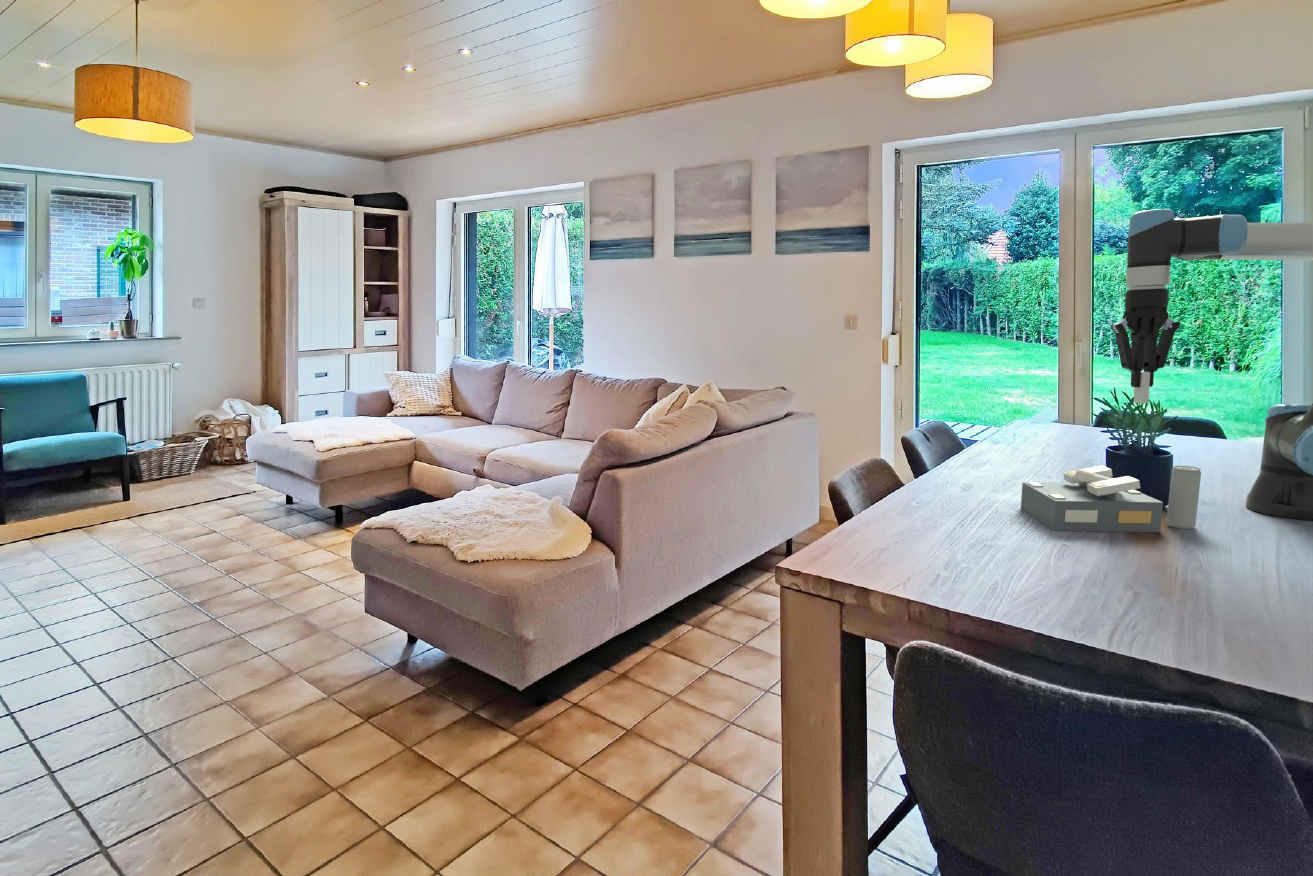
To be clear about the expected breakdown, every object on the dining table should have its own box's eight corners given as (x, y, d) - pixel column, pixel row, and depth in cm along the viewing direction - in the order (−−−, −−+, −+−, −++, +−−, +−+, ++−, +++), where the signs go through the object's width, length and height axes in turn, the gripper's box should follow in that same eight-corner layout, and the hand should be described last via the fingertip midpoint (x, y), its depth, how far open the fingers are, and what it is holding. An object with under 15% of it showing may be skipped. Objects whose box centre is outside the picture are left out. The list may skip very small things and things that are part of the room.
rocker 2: (1113, 485, 157) (1115, 477, 157) (1123, 490, 153) (1126, 482, 153) (1074, 477, 158) (1077, 469, 157) (1083, 481, 154) (1086, 473, 153)
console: (1116, 510, 164) (1119, 476, 163) (1160, 532, 147) (1164, 495, 146) (1020, 508, 166) (1022, 475, 165) (1053, 530, 149) (1056, 494, 148)
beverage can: (1199, 530, 149) (1206, 470, 147) (1172, 529, 150) (1178, 470, 148) (1188, 523, 153) (1194, 466, 151) (1161, 522, 154) (1167, 465, 152)
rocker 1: (1102, 472, 162) (1101, 464, 162) (1112, 476, 158) (1111, 468, 158) (1064, 479, 163) (1063, 471, 163) (1073, 483, 159) (1071, 476, 159)
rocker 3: (1129, 483, 152) (1127, 475, 151) (1140, 488, 148) (1139, 479, 147) (1087, 491, 153) (1086, 482, 152) (1097, 495, 149) (1096, 487, 148)
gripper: (1168, 287, 158) (1161, 399, 161) (1104, 290, 159) (1099, 402, 162) (1192, 286, 151) (1184, 403, 154) (1125, 288, 151) (1119, 405, 155)
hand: (1140, 402), depth 158 cm, fingers closed
